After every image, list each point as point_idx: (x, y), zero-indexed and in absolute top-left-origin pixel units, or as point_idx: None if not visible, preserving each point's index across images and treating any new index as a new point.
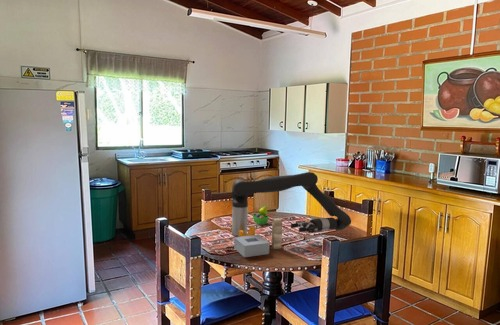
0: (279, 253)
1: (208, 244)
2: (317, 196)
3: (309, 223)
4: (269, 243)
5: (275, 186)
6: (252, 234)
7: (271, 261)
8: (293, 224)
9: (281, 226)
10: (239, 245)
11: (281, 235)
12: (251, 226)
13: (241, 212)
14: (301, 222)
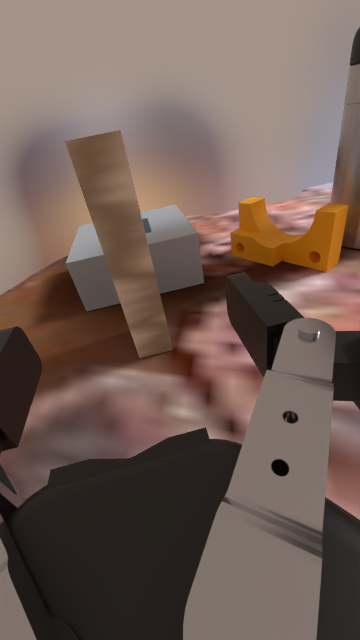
0: (69, 343)
1: (223, 212)
2: None
3: None
4: (67, 267)
5: None
6: (308, 247)
7: (13, 315)
8: (235, 295)
9: (91, 214)
10: None
11: (114, 285)
12: (343, 205)
13: (350, 102)
14: (264, 377)
